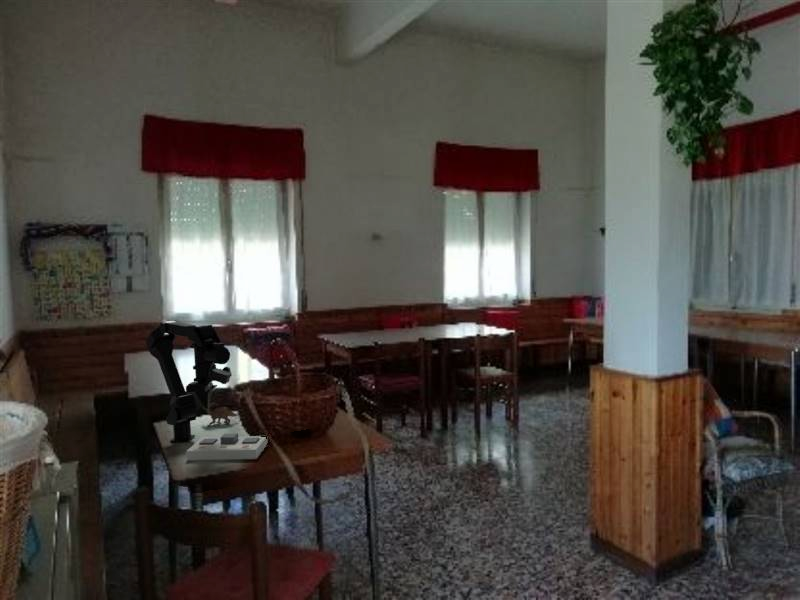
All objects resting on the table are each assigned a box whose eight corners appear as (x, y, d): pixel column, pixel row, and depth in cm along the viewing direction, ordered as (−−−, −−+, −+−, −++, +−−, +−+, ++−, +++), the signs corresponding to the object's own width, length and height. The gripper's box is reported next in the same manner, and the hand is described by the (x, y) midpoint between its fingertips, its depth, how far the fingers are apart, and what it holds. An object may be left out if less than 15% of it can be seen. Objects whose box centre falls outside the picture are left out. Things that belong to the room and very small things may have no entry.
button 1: (204, 446, 201) (204, 438, 200) (217, 445, 200) (217, 438, 200) (199, 450, 196) (199, 442, 196) (213, 450, 196) (212, 442, 196)
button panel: (202, 446, 204) (202, 436, 204) (267, 444, 203) (267, 434, 203) (186, 460, 190) (186, 449, 190) (256, 458, 189) (256, 448, 189)
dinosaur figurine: (199, 427, 228) (198, 402, 227) (203, 422, 233) (202, 399, 233) (237, 425, 229) (235, 400, 228) (239, 420, 234) (238, 397, 234)
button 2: (246, 445, 200) (246, 437, 200) (259, 444, 200) (259, 437, 200) (242, 449, 196) (242, 441, 196) (256, 449, 196) (255, 441, 195)
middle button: (225, 441, 200) (224, 433, 200) (238, 440, 200) (237, 433, 200) (220, 445, 196) (220, 437, 196) (234, 444, 196) (233, 437, 196)
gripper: (218, 366, 192) (221, 414, 193) (236, 356, 211) (238, 400, 212) (183, 367, 193) (186, 415, 194) (204, 357, 211) (207, 401, 212)
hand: (206, 408), depth 203 cm, fingers closed
